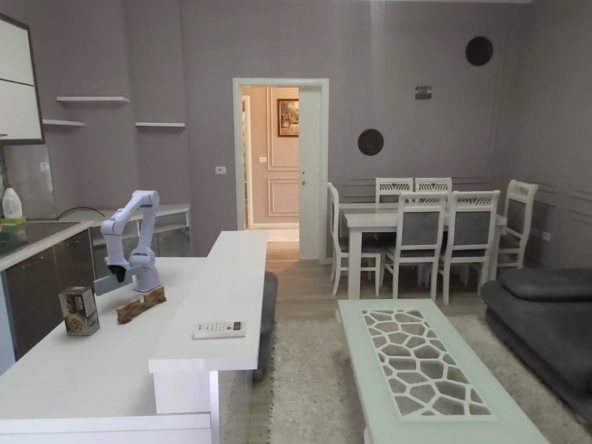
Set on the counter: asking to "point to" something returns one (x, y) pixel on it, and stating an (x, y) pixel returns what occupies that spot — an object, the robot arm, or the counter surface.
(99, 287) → the grey notched plate
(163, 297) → the walnut slotted plate
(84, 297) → the coffee box
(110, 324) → the counter surface
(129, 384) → the counter surface
